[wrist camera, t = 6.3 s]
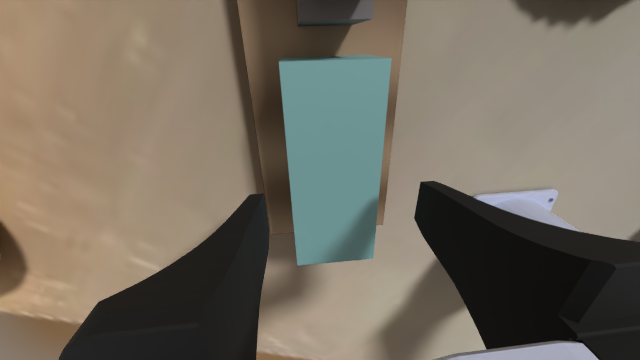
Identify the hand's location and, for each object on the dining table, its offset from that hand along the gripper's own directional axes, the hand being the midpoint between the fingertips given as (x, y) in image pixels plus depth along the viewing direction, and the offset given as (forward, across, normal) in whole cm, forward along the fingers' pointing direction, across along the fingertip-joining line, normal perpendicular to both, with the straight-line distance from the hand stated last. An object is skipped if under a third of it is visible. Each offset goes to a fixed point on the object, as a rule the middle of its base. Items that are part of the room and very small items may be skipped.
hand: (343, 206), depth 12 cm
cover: (+6, 0, 0) cm, 6 cm away
